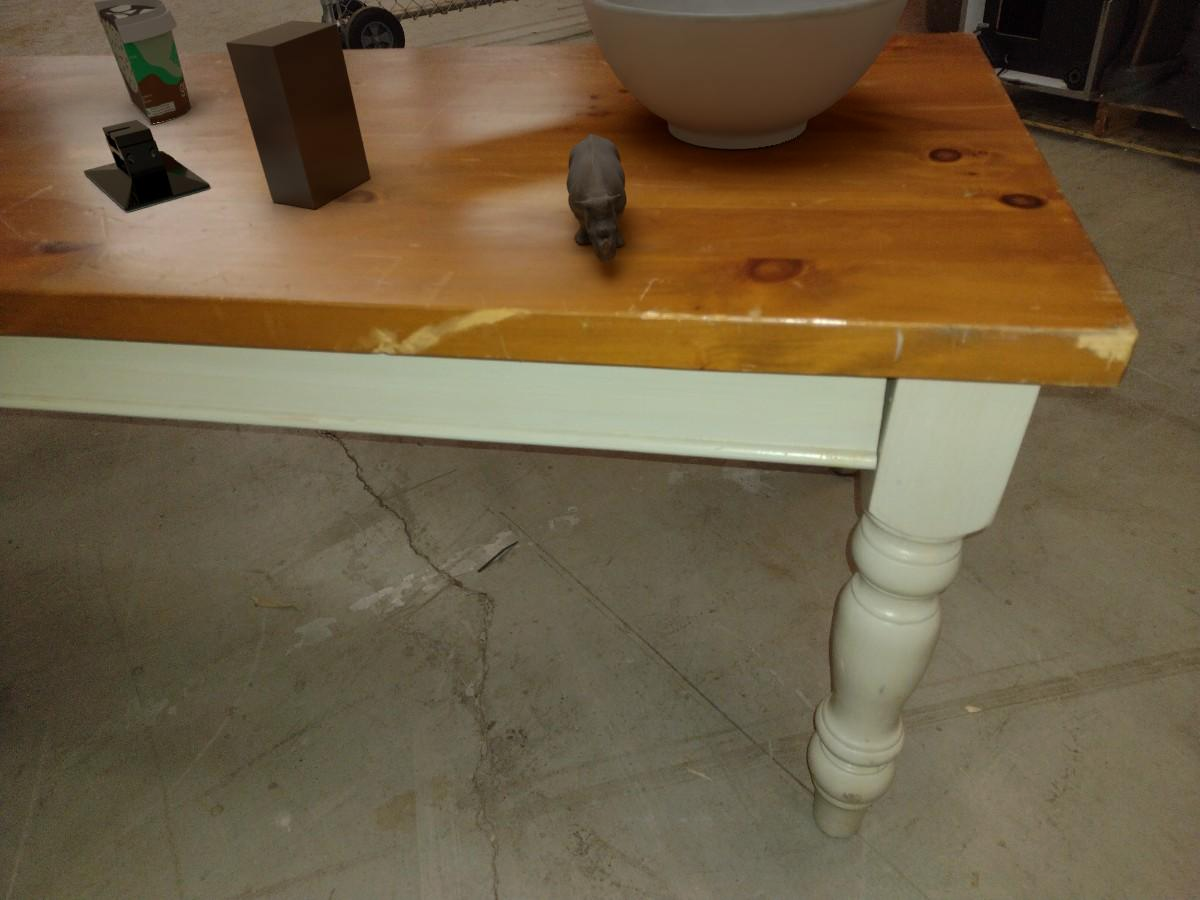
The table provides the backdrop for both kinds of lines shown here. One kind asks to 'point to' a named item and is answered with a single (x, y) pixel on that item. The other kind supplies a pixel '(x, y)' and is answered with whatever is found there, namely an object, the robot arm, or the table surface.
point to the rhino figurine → (597, 194)
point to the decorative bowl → (740, 61)
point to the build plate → (141, 170)
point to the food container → (146, 56)
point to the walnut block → (301, 111)
